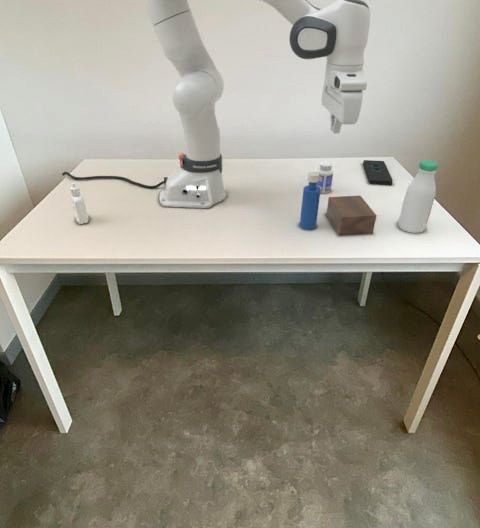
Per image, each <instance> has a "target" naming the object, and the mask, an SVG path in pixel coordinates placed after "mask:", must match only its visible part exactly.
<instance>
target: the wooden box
mask: <svg viewBox="0 0 480 528" xmlns="http://www.w3.org/2000/svg"><path fill="white" fill-rule="evenodd" d="M326 216H327V218H328V220H329V221H330V224H332V226H333V228H334V230H335V232H336V233H337V234H338V236H355V235H356V236H357V235H373V233H374V231H375V230H374V229H375V225H376V220H377V214H376V213H375V212H374V210H373V209H372V208H371V206H370V205H369V204H368V203H367V202H366V201H365V199H364V198H363V197H362V195H343V196H341V195H340V196H328V199H327V208H326Z"/></svg>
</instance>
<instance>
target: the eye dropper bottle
mask: <svg viewBox="0 0 480 528" xmlns="http://www.w3.org/2000/svg"><path fill="white" fill-rule="evenodd" d="M69 189H70V193H71V195H70V201H71V205H72V209H73V212H74V215H75V220H76V222H77V223H78V224H79V225H83V224H84V225H85V224H87V223H88V222H89V214H88V211H87V207H86V203H85V199H84V195H83V194H82V193H81V189H80V186H77V185H76V183H75V182H72V183H71V187H70V188H69Z"/></svg>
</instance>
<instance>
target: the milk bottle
mask: <svg viewBox="0 0 480 528" xmlns="http://www.w3.org/2000/svg"><path fill="white" fill-rule="evenodd" d="M438 166H439V163H438V162H437V161H434V160H431V159H422V160H420V162H419V164H418V168H417V170H418V171H417V173H416V175H415V176H414V178H413V179H412V180H411V181H410V182H409V184H408V186H407V188H406V190H405V195H404V198H403V202H402V206H401V209H400V213H399V218H398V221H397V225H398V227H399V229H401V230H402V231H405V232H408V233H411V234H412V233H413V234H418V233H422V232H424V231H425V230H426V228H427V224H428V221H429V218H430V214H431V211H432V208H433V204H434V200H435V197H436V192H437V188H436V187H437V185H436V183H435V182H436V181H435V173H436V172H437V170H438Z"/></svg>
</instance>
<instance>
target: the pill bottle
mask: <svg viewBox="0 0 480 528" xmlns="http://www.w3.org/2000/svg"><path fill="white" fill-rule="evenodd" d="M332 168H333V163H332V162H330V161H321V162H320V163H319V168H318V169H317V171H316V172H317V173H319V180H318V182H317V185H316V186H317V187H319V188H320V189H321V191H320V194H328V193H330V192H331V191H332V185H333V178H334V170H333V169H332Z"/></svg>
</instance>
